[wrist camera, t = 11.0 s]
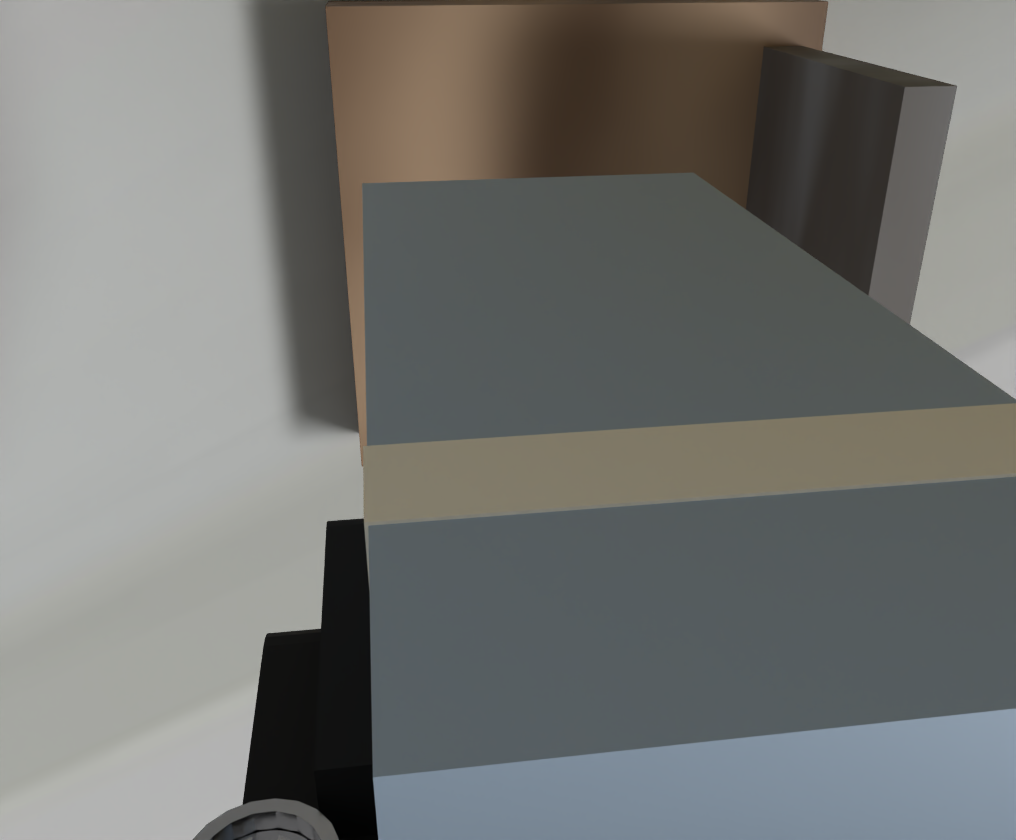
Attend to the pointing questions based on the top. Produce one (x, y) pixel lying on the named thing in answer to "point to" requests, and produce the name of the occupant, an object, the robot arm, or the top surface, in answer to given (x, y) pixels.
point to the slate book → (672, 530)
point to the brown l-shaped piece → (642, 118)
